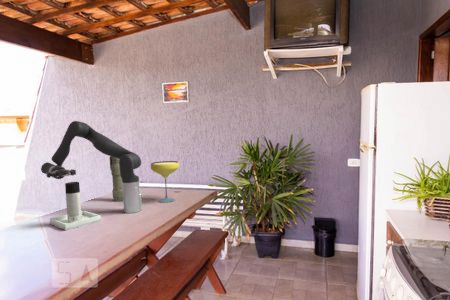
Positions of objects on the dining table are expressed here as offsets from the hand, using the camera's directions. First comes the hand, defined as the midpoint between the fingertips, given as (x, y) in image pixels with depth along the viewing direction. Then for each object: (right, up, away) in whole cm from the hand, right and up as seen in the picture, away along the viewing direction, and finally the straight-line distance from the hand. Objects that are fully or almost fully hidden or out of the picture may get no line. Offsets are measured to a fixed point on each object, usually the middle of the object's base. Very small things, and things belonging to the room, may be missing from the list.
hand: (64, 174), depth 170 cm
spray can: (+9, -24, -8) cm, 27 cm away
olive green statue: (+17, -21, +41) cm, 49 cm away
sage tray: (+10, -24, -8) cm, 27 cm away
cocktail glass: (+49, -20, +35) cm, 63 cm away
